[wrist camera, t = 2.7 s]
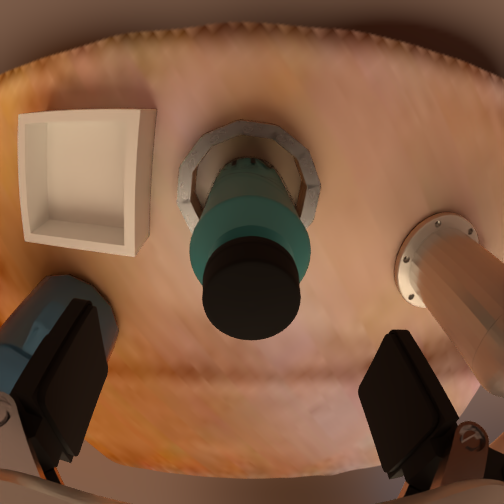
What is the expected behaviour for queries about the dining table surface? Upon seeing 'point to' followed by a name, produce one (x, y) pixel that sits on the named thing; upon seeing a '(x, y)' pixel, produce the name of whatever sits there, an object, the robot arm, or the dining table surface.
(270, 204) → the beverage bottle
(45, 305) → the wine bottle
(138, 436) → the dining table surface
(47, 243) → the bin
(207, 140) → the holder ring
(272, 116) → the dining table surface
